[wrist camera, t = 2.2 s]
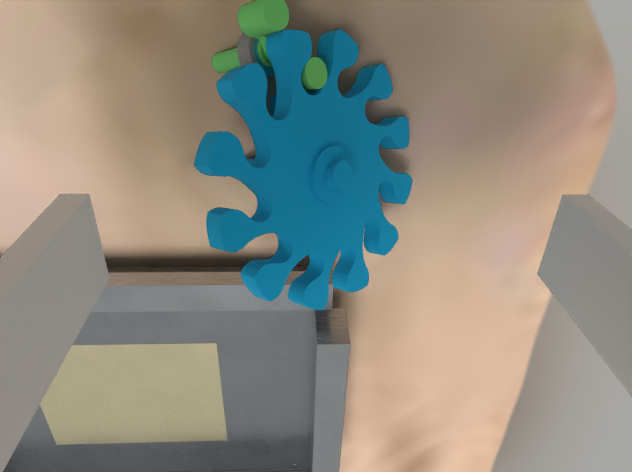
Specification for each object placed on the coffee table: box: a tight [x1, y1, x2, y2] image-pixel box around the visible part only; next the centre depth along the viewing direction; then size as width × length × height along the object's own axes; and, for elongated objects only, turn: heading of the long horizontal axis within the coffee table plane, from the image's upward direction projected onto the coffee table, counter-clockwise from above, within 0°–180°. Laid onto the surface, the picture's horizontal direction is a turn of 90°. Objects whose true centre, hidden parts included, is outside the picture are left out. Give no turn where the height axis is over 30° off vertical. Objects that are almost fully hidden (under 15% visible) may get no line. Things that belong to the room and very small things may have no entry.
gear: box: [194, 0, 413, 310], centre depth 19 cm, size 11×6×10 cm
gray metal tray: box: [3, 266, 350, 472], centre depth 26 cm, size 17×23×4 cm
